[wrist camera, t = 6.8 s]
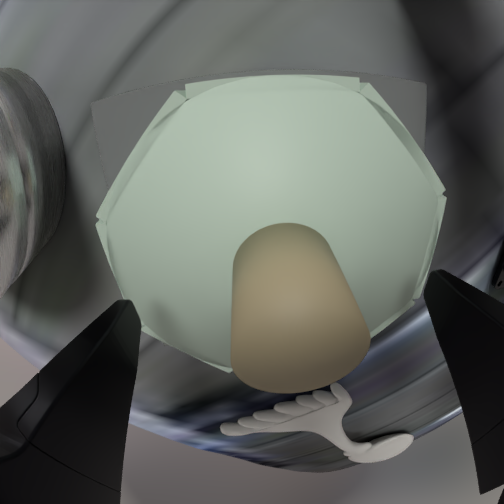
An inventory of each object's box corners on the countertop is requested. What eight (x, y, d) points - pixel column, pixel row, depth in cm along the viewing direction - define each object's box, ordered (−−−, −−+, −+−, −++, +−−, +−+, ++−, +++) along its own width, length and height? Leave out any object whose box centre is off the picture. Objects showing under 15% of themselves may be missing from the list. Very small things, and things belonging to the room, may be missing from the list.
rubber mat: (417, 82, 8) (426, 83, 7) (383, 316, 14) (386, 324, 14) (97, 101, 8) (90, 103, 8) (166, 337, 14) (164, 345, 14)
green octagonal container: (421, 89, 8) (542, 119, 3) (384, 321, 14) (422, 409, 9) (99, 108, 8) (-20, 147, 3) (168, 342, 14) (151, 440, 9)
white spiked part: (328, 346, 16) (341, 394, 13) (414, 431, 30) (420, 450, 27) (216, 395, 19) (215, 437, 16) (361, 454, 33) (365, 473, 30)
